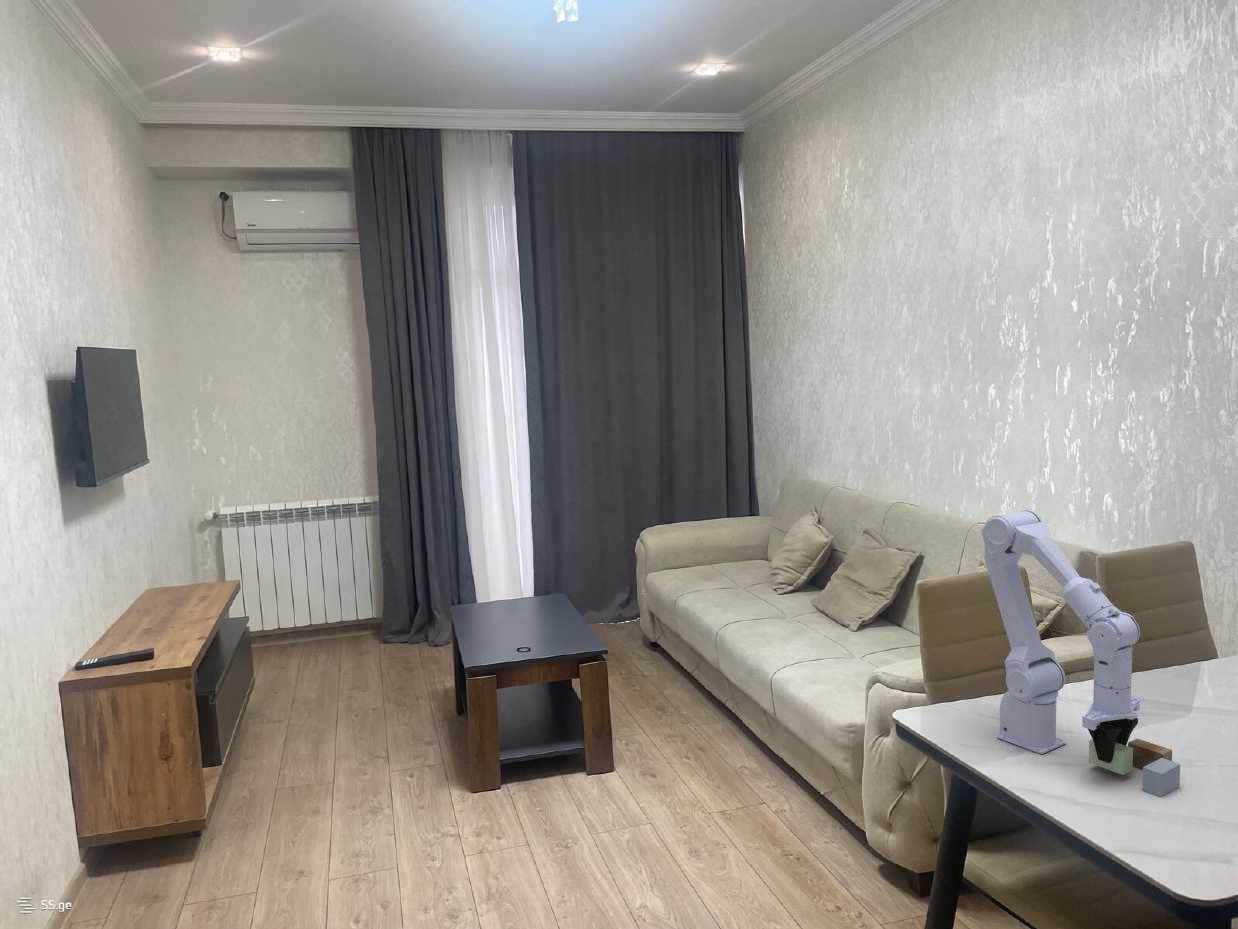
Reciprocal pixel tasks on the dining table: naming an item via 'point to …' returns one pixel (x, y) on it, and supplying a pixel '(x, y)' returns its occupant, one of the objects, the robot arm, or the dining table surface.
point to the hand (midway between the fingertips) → (1110, 758)
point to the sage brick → (1114, 758)
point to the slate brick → (1161, 777)
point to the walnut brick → (1147, 753)
